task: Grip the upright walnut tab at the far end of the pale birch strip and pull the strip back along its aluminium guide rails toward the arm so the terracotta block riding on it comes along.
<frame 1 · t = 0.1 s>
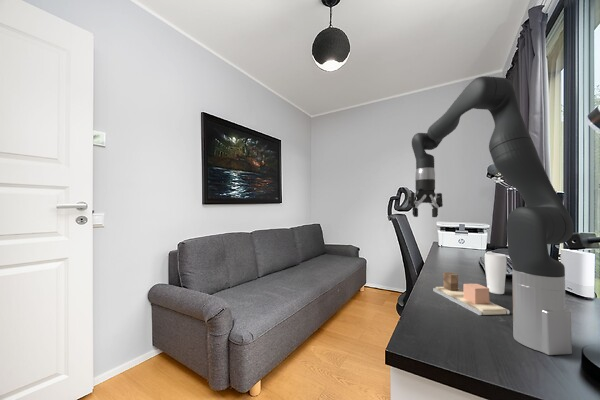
hand: (425, 217, 105), 29 cm above the table, fingers open, 8 cm apart
terracotta block: (476, 300, 83), point 2 cm above the table, touching birch strip
birch strip: (466, 290, 87), point 4 cm above the table, slide at 0.0 cm, touching terracotta block
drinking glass: (495, 292, 97), on the table
guide rails: (466, 301, 87), on the table
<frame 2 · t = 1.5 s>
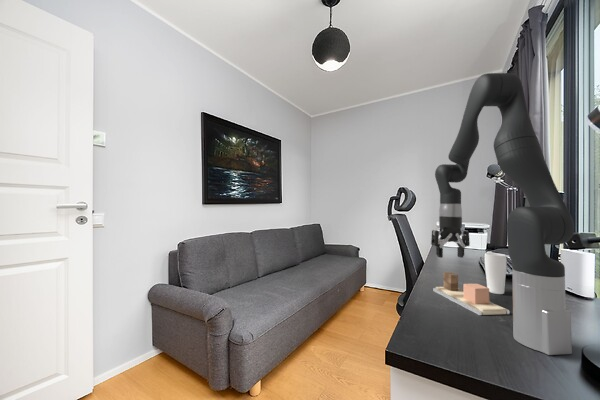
hand: (450, 257, 95), 14 cm above the table, fingers open, 8 cm apart
nothing on the table moved.
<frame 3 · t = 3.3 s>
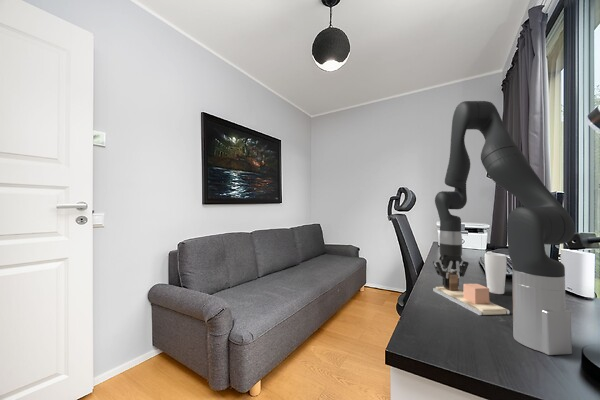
hand: (450, 287, 95), 2 cm above the table, fingers closed on birch strip, 3 cm apart
birch strip: (466, 290, 87), point 4 cm above the table, slide at 0.0 cm, touching gripper, terracotta block
everything else where it was.
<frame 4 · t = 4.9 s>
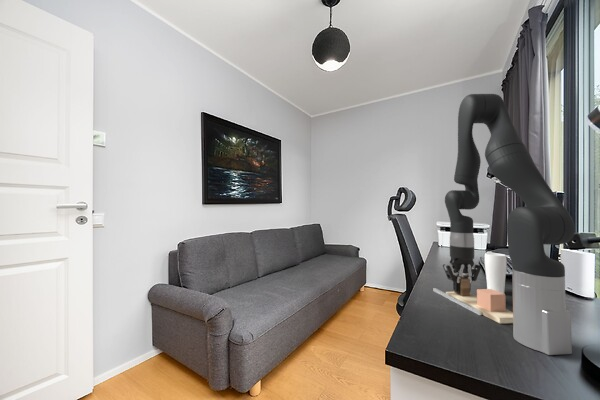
hand: (462, 292, 89), 2 cm above the table, fingers closed on birch strip, 3 cm apart
terracotta block: (490, 307, 77), point 2 cm above the table, touching birch strip
birch strip: (480, 296, 81), point 4 cm above the table, slide at 5.7 cm, touching gripper, terracotta block
everything else where it was.
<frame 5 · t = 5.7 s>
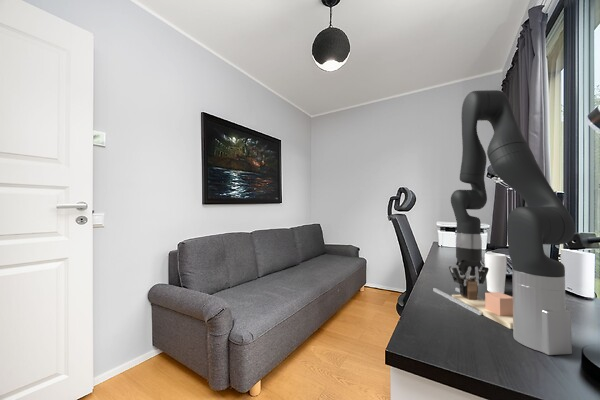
hand: (468, 295, 86), 2 cm above the table, fingers closed on birch strip, 3 cm apart
terracotta block: (500, 312, 74), point 2 cm above the table, touching birch strip
birch strip: (488, 299, 78), point 4 cm above the table, slide at 8.9 cm, touching gripper, terracotta block
everything else where it was.
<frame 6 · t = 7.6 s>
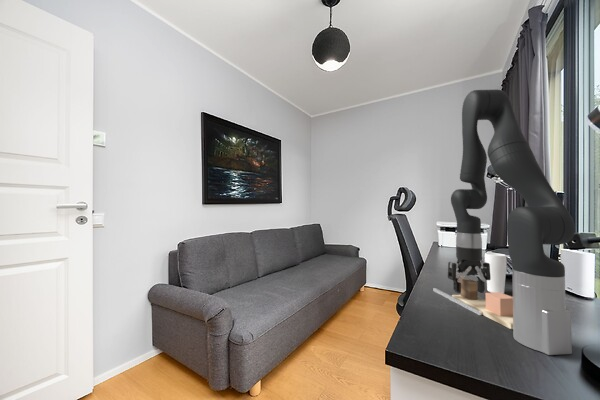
hand: (469, 292, 86), 3 cm above the table, fingers open, 8 cm apart
birch strip: (488, 299, 78), point 4 cm above the table, slide at 9.0 cm, touching terracotta block
everything else where it was.
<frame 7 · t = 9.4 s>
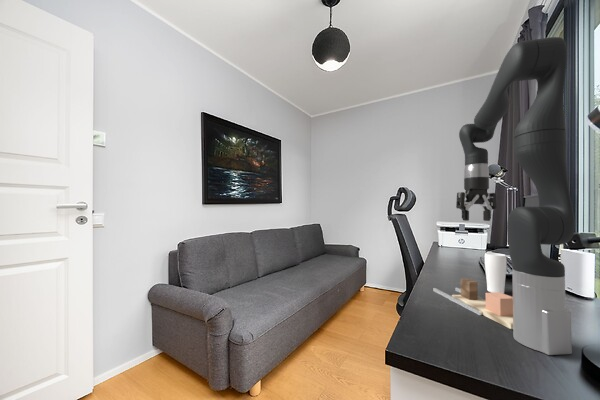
hand: (476, 220, 91), 28 cm above the table, fingers open, 8 cm apart
nothing on the table moved.
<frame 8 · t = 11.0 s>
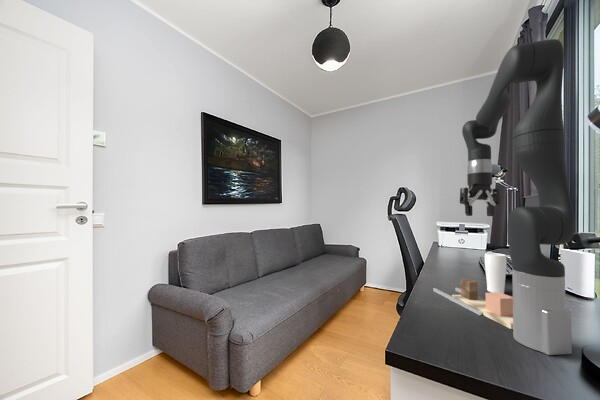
hand: (479, 216, 91), 30 cm above the table, fingers open, 8 cm apart
nothing on the table moved.
at the end: birch strip slide at 9.0 cm; terracotta block inside the target area on the birch strip (0.0 cm from its centre), point 1.6 cm above the birch strip's base; terracotta block moved 9.0 cm from its start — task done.
